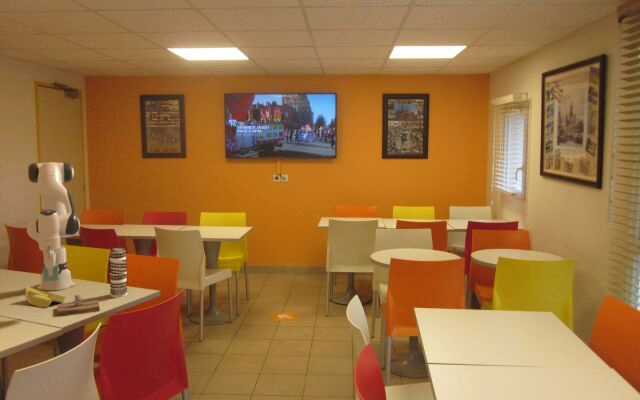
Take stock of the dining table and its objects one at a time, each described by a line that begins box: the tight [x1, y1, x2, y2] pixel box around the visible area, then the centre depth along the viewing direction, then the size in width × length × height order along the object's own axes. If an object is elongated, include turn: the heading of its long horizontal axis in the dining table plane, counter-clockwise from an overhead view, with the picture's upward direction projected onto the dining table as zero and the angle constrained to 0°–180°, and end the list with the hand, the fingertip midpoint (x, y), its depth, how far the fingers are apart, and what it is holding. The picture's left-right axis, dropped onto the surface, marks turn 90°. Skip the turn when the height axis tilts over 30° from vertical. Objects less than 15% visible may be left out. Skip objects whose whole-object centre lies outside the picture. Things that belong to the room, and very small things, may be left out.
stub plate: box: [56, 294, 100, 317], centre depth 243 cm, size 13×18×7 cm
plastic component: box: [24, 286, 66, 309], centre depth 254 cm, size 20×7×10 cm
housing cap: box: [42, 263, 59, 282], centre depth 235 cm, size 6×6×7 cm
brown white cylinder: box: [108, 247, 128, 298], centre depth 267 cm, size 9×9×25 cm
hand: (51, 274), depth 236 cm, fingers closed on housing cap, 6 cm apart
